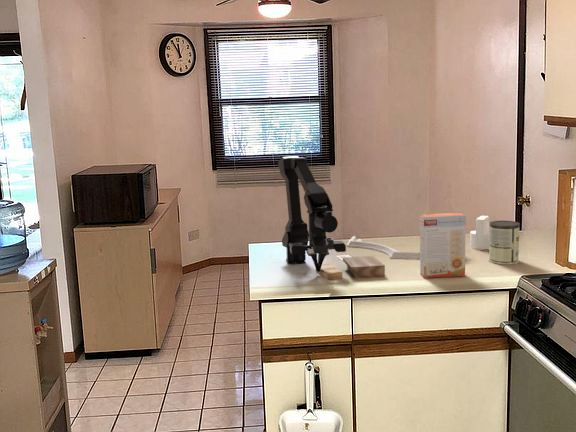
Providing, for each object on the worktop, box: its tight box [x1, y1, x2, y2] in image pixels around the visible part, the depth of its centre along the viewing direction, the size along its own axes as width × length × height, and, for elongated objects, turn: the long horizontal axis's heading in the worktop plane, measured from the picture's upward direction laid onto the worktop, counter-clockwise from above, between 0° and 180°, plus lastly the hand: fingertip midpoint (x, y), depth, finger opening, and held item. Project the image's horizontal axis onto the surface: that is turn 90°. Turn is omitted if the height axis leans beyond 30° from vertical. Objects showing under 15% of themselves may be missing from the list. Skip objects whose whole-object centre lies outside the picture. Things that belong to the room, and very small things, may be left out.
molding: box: [346, 235, 420, 260], centre depth 245 cm, size 42×12×3 cm, turn 34°
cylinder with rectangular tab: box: [469, 215, 490, 250], centre depth 244 cm, size 9×9×12 cm
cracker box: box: [419, 212, 467, 279], centre depth 205 cm, size 14×6×21 cm, turn 92°
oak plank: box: [315, 263, 343, 280], centre depth 212 cm, size 12×5×2 cm, turn 19°
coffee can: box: [488, 220, 521, 265], centre depth 221 cm, size 10×10×14 cm
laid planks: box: [342, 255, 386, 279], centre depth 213 cm, size 12×14×4 cm
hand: (318, 271), depth 212 cm, fingers closed
